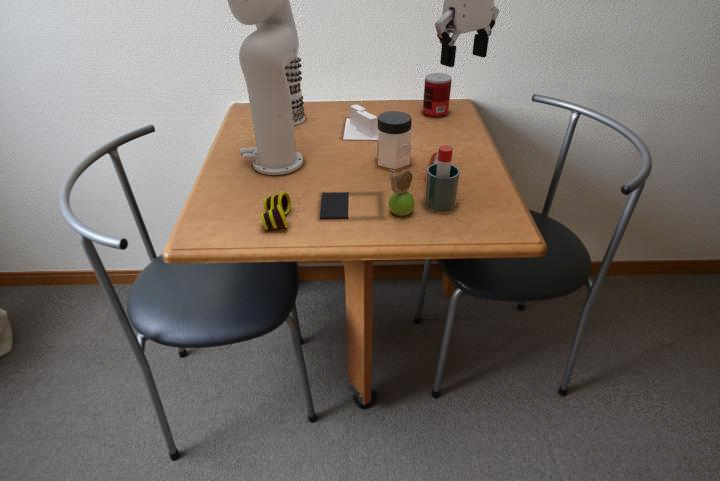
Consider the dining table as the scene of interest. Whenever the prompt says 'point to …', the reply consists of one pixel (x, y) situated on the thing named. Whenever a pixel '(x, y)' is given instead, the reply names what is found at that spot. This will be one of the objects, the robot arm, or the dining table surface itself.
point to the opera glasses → (276, 210)
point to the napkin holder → (360, 124)
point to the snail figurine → (401, 193)
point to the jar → (394, 139)
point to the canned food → (436, 94)
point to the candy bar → (433, 160)
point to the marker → (444, 161)
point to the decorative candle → (295, 89)
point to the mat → (334, 205)
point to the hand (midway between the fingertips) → (463, 60)
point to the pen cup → (441, 189)
